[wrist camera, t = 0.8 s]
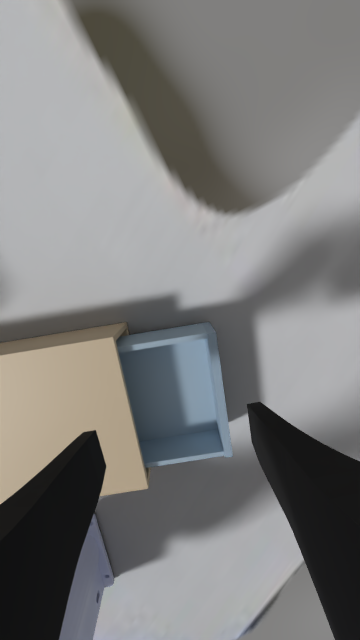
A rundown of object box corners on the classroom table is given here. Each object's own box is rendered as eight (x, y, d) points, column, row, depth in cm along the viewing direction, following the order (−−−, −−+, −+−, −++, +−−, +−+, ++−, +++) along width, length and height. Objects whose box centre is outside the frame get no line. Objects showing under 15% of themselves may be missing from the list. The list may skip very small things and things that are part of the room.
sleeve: (153, 446, 22) (148, 488, 18) (-36, 475, 22) (-85, 524, 18) (126, 322, 20) (112, 337, 15) (-86, 357, 20) (-158, 381, 16)
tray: (224, 428, 21) (232, 456, 18) (38, 458, 22) (16, 490, 18) (209, 321, 19) (216, 332, 16) (4, 355, 19) (-29, 372, 16)
